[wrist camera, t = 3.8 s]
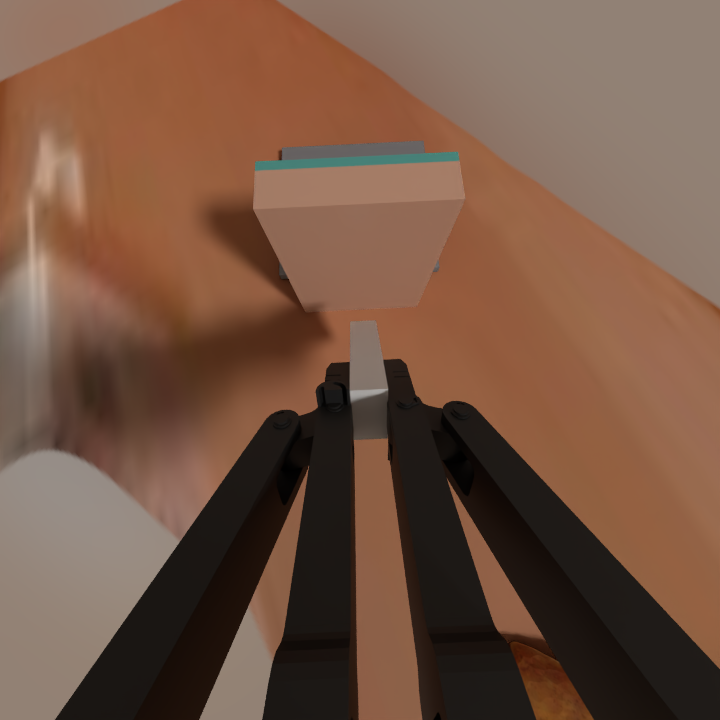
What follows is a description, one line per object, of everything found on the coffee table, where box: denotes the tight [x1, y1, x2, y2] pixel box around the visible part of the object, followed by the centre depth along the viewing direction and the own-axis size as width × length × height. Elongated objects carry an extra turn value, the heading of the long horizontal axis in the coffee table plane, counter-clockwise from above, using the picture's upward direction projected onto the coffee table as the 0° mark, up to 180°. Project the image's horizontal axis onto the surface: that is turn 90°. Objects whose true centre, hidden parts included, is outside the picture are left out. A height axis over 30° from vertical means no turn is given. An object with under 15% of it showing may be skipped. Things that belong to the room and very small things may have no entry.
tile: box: [253, 152, 465, 312], centre depth 17 cm, size 9×2×11 cm, turn 93°
